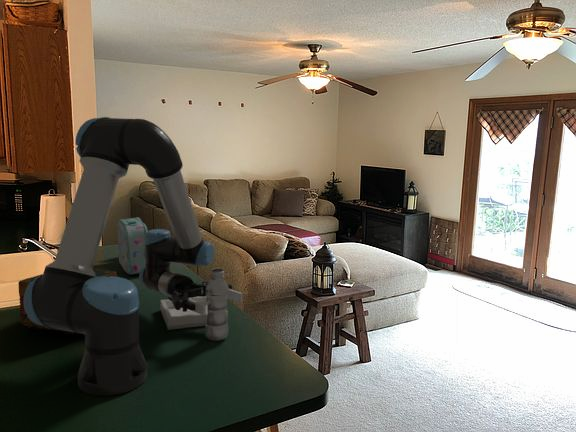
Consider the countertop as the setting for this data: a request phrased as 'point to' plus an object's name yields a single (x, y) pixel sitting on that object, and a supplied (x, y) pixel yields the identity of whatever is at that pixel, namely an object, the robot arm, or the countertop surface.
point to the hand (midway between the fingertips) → (224, 304)
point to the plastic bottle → (217, 306)
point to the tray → (183, 315)
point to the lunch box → (132, 244)
